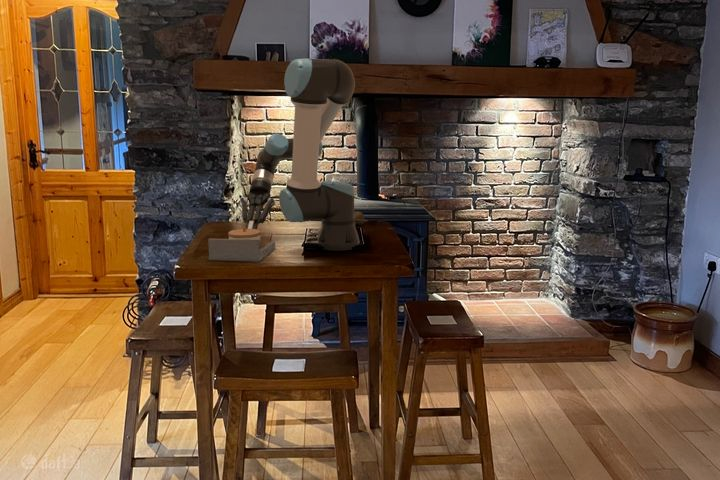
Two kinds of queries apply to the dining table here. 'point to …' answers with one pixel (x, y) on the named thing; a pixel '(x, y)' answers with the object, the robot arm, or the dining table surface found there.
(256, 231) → the lidded jar
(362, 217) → the kendama
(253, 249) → the grey u-shaped frame
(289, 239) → the dining table surface
